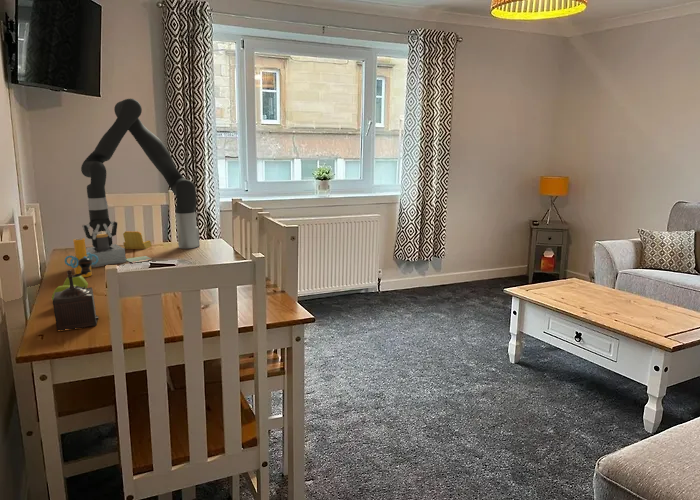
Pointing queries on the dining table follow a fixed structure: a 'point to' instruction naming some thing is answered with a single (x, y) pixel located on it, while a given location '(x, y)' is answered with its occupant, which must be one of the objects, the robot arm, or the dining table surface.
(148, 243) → the yellow piece
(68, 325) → the coffee grinder
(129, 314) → the dining table surface
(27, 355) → the dining table surface
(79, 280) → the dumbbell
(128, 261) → the mat
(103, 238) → the plug
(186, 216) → the robot arm
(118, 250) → the housing
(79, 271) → the yellow blue looped piece
